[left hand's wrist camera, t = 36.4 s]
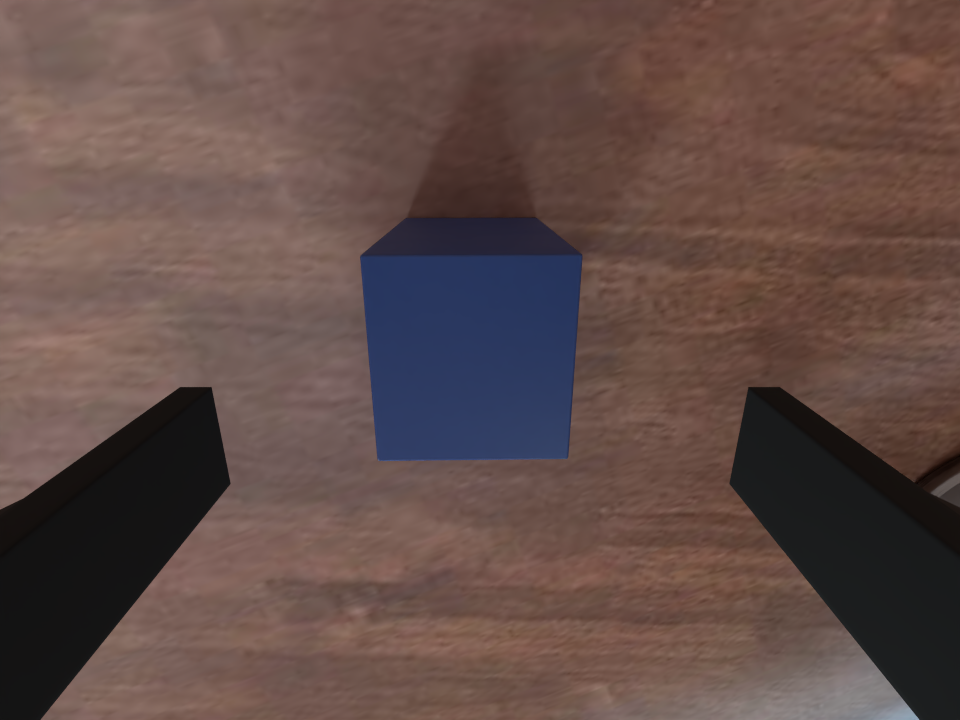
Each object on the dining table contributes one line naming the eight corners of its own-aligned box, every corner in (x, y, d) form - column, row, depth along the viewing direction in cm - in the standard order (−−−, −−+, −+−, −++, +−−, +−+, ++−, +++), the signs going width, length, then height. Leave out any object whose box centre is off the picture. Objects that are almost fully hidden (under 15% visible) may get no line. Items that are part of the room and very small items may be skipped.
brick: (405, 217, 25) (359, 255, 15) (537, 217, 25) (583, 254, 15) (412, 350, 28) (377, 461, 17) (532, 350, 28) (568, 459, 17)
